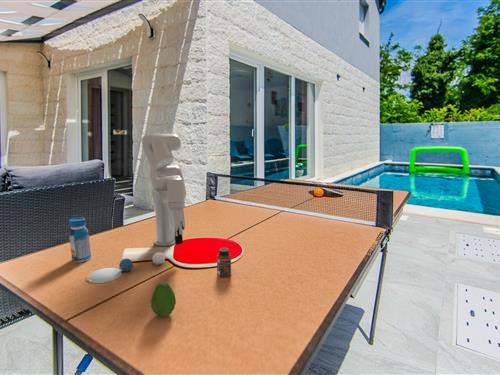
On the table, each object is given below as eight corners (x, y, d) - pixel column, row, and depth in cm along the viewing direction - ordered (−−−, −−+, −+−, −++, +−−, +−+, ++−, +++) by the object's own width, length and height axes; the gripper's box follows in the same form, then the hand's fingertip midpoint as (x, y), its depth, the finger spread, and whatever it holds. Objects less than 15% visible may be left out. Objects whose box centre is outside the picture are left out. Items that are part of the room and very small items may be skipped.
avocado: (167, 324, 103) (164, 289, 101) (147, 318, 106) (144, 285, 103) (181, 310, 110) (179, 278, 108) (162, 306, 113) (159, 274, 111)
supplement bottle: (218, 278, 133) (217, 253, 131) (216, 272, 138) (215, 247, 136) (232, 276, 134) (232, 251, 132) (229, 270, 140) (229, 246, 138)
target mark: (108, 265, 146) (108, 265, 146) (128, 272, 139) (128, 272, 139) (78, 278, 134) (78, 277, 134) (99, 286, 127) (99, 286, 127)
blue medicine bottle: (86, 263, 149) (81, 221, 145) (68, 263, 149) (62, 221, 145) (94, 255, 157) (90, 216, 153) (77, 255, 158) (73, 216, 154)
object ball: (127, 267, 144) (126, 255, 143) (136, 269, 142) (135, 258, 141) (117, 271, 140) (116, 260, 139) (125, 274, 137) (124, 262, 136)
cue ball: (159, 260, 151) (158, 249, 150) (167, 263, 148) (167, 251, 147) (150, 265, 146) (149, 253, 145) (158, 267, 144) (157, 256, 142)
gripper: (164, 203, 151) (166, 240, 154) (172, 209, 138) (175, 249, 141) (179, 201, 154) (182, 237, 157) (189, 206, 141) (191, 246, 144)
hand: (178, 243), depth 149 cm, fingers closed
